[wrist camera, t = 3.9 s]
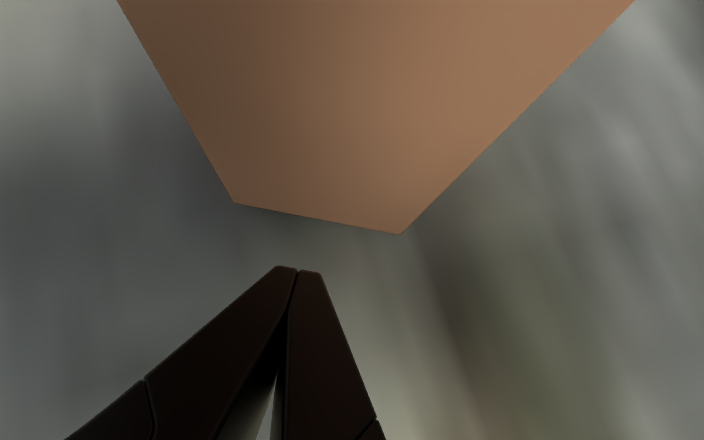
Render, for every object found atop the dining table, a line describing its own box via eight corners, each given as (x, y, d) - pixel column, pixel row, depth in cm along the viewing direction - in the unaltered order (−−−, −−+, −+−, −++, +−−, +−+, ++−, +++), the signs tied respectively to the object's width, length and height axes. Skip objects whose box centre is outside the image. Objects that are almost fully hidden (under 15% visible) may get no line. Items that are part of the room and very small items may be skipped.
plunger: (399, 235, 15) (1057, -419, 2) (233, 202, 15) (-386, -871, 2) (421, 89, 17) (869, -842, 3) (271, 57, 17) (119, -1111, 3)
